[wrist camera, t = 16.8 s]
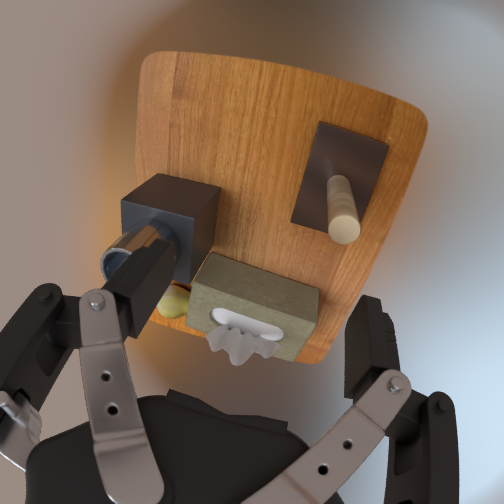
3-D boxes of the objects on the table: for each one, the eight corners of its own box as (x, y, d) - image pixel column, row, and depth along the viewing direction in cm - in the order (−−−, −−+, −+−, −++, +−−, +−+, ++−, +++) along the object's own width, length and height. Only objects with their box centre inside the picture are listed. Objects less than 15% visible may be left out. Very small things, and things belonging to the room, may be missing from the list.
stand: (157, 173, 43) (120, 199, 34) (221, 187, 42) (194, 218, 34) (155, 230, 48) (124, 264, 40) (212, 246, 47) (189, 285, 39)
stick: (339, 169, 36) (346, 208, 26) (354, 187, 36) (366, 231, 26) (321, 185, 37) (321, 228, 27) (337, 201, 38) (342, 250, 28)
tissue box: (321, 289, 47) (316, 370, 34) (299, 328, 53) (288, 403, 40) (208, 250, 48) (167, 320, 35) (199, 293, 54) (164, 362, 40)
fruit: (210, 314, 56) (159, 307, 56) (211, 284, 54) (158, 278, 54) (204, 329, 50) (149, 321, 50) (205, 298, 49) (147, 290, 49)
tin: (146, 206, 34) (113, 235, 28) (191, 246, 36) (167, 281, 30) (122, 242, 38) (93, 272, 32) (163, 277, 39) (139, 311, 34)
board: (318, 120, 34) (319, 122, 33) (386, 143, 34) (389, 146, 32) (291, 217, 42) (290, 222, 41) (351, 235, 41) (352, 241, 40)
